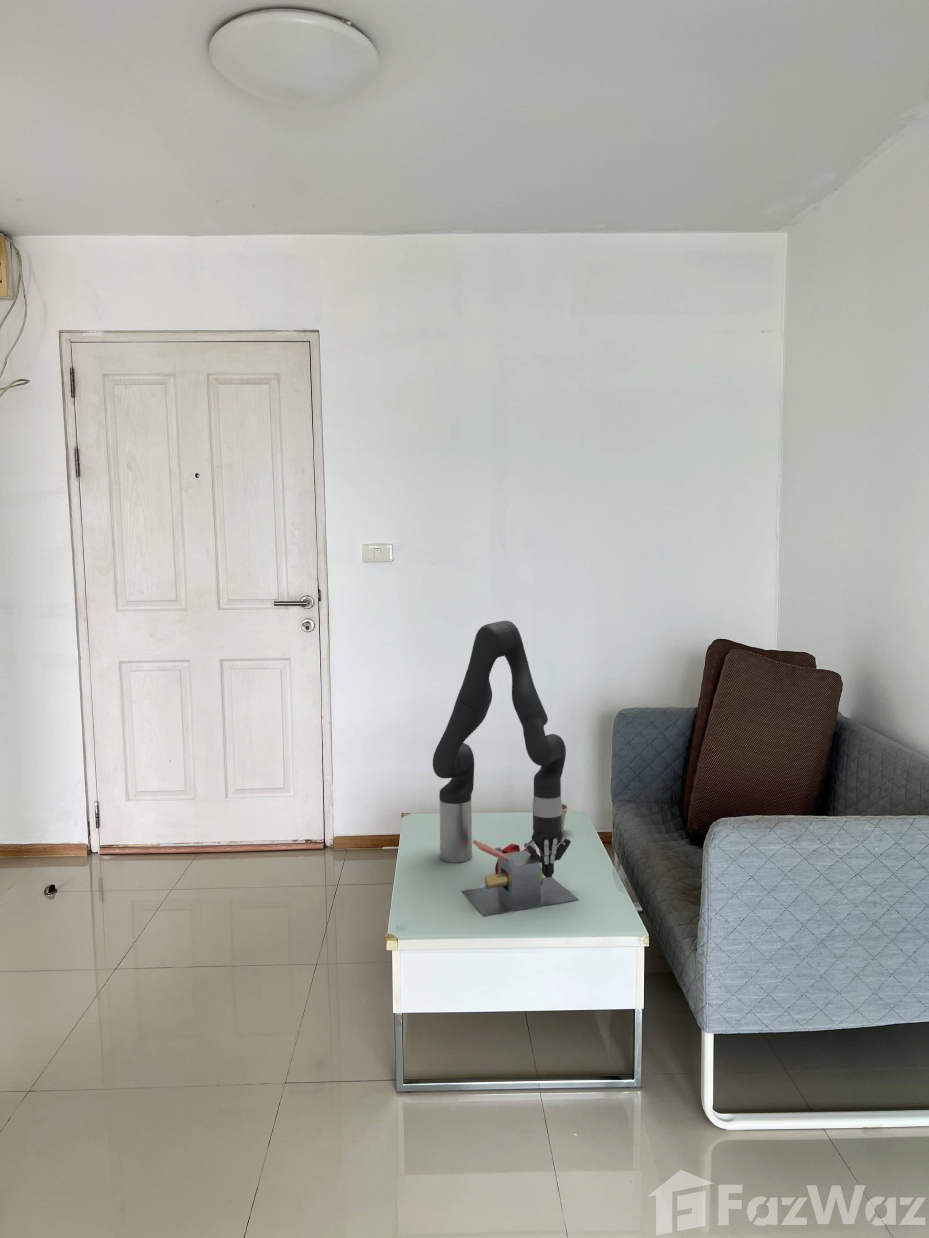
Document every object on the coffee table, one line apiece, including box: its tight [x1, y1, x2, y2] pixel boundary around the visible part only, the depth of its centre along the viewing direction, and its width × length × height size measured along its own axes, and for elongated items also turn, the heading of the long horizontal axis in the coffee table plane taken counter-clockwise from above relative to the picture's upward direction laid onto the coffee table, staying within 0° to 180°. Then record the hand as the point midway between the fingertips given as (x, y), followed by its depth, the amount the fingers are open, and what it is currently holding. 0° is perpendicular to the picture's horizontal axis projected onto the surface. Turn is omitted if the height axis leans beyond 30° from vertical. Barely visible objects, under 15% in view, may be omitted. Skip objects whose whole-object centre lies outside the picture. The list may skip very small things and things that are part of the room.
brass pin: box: [484, 868, 544, 889], centre depth 223 cm, size 6×14×6 cm, turn 110°
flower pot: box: [561, 802, 569, 834], centre depth 271 cm, size 9×9×9 cm
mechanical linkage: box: [494, 843, 537, 874], centre depth 242 cm, size 16×7×5 cm, turn 149°
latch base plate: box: [461, 847, 580, 917], centre depth 224 cm, size 16×26×12 cm, turn 110°
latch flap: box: [472, 839, 509, 862], centre depth 220 cm, size 7×9×1 cm
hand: (547, 876), depth 227 cm, fingers closed
